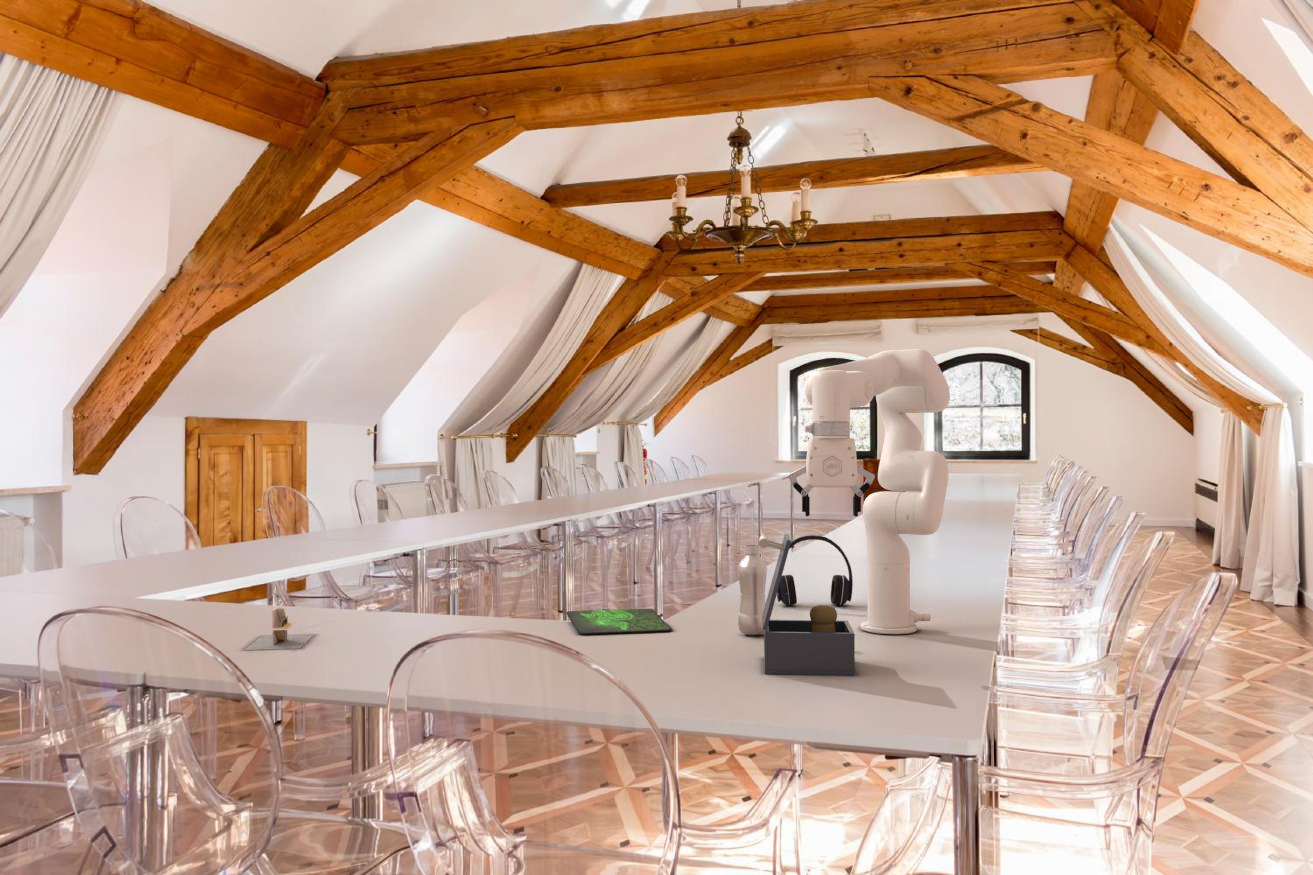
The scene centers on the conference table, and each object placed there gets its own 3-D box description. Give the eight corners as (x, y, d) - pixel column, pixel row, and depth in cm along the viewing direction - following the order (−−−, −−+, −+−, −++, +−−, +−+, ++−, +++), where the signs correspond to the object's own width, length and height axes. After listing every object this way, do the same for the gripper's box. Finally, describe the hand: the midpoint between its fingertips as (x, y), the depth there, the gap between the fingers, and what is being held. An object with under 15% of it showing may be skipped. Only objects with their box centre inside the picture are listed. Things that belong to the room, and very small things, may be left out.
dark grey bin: (848, 659, 207) (847, 620, 207) (854, 675, 194) (854, 633, 194) (764, 658, 209) (763, 619, 209) (764, 673, 195) (764, 632, 195)
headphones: (776, 607, 270) (776, 536, 270) (773, 603, 277) (773, 534, 277) (854, 607, 270) (853, 536, 270) (849, 603, 277) (849, 534, 277)
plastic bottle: (766, 638, 230) (766, 547, 230) (736, 637, 231) (735, 546, 231) (769, 632, 236) (769, 544, 236) (739, 631, 237) (739, 543, 237)
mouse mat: (674, 631, 237) (674, 626, 237) (577, 635, 233) (577, 630, 233) (651, 611, 264) (651, 607, 264) (564, 614, 260) (564, 610, 260)
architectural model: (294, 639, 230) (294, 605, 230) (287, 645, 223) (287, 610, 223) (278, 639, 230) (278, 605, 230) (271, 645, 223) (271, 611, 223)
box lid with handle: (788, 534, 208) (761, 526, 209) (791, 540, 195) (762, 532, 195) (765, 617, 209) (738, 610, 209) (766, 630, 195) (737, 622, 196)
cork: (804, 659, 204) (804, 603, 204) (834, 658, 204) (834, 602, 204) (811, 666, 198) (811, 608, 198) (843, 665, 198) (842, 607, 198)
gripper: (788, 431, 209) (788, 517, 209) (876, 431, 207) (876, 517, 207) (787, 431, 216) (787, 514, 216) (872, 431, 214) (872, 514, 215)
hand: (831, 515), depth 212 cm, fingers open, 9 cm apart
